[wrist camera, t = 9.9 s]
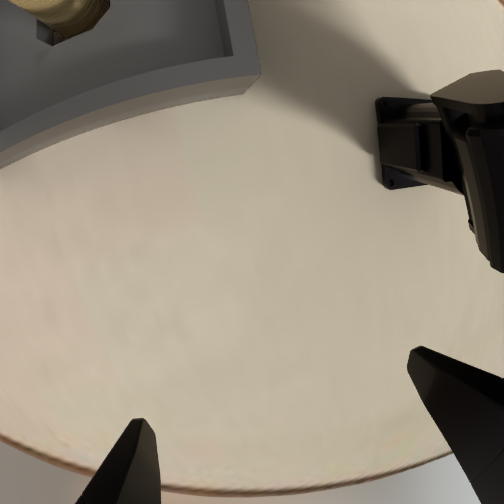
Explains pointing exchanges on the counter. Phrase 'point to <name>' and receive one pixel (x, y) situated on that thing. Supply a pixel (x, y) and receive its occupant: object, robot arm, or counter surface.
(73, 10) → the brass peg
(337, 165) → the counter surface
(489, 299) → the counter surface
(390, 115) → the robot arm
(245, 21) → the tray
